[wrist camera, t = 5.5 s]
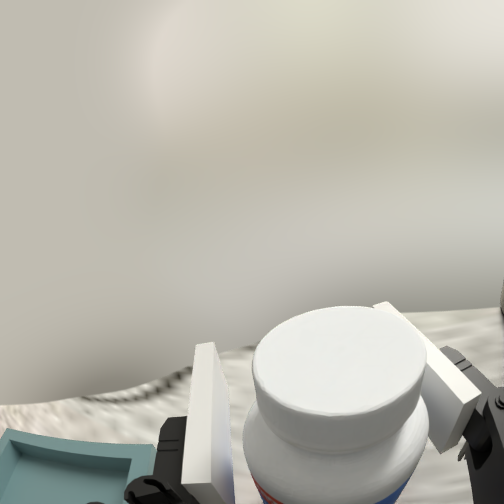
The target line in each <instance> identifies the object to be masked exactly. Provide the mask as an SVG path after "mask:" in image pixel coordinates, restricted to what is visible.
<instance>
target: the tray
mask: <svg viewBox="0 0 504 504" xmlns="http://www.w3.org/2000/svg"><path fill="white" fill-rule="evenodd" d="M156 452H157V450H156V449H155V447H154V446H153V444H111V443H96V442H85V441H76V440H68V439H60V438H54V437H47V436H42V435H36V434H31V433H26V432H22V431H17V430H13V429H9V428H7V429H6V431H5V432H4V434H3V436H2V437H1V439H0V504H87V503H89V502H96V501H97V502H101V503H104V504H129V503H127V502H126V501H125V500H124V491H125V489H126V487H127V485H128V484H129V483H130V482H131V481H132V480H134V479H136V478H138V477H140V476H145V475H153V470H154V463H155V457H156Z"/></svg>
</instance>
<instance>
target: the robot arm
mask: <svg viewBox="0 0 504 504" xmlns="http://www.w3.org/2000/svg"><path fill="white" fill-rule="evenodd" d="M500 301H501V302H500V303H501V308H502V311H503V314H504V282H503V288H502V294H501V300H500ZM372 308H375V309H379V310H383V311H387V312H390V313H392V314H394V315H397V316H399V317H400V318H402V319H404V320H405V321H407V322H408V323H410V322H409V321H408V320H407V319H406V318H405V317H404V316H403V315H402V314H401V313H400V312H398V311H397V310H396V309H395V308H394V307H393V306H392V305H391V304H390V303H388V302H383V303H379V304H376V305H373V306H372ZM410 324H411V323H410ZM411 325H412V326H413V327H414V328H415V329H416V330H417V331H418V332H419V334H420V335H421V337H422V339H423V341H424V344H425V347H426V351H427V360H426V368H425V373H424V377H423V382H422V386H421V394H420V395H421V396H422V398H423V401H424V403H425V405H426V408H427V411H428V418H429V432H428V437H429V438H430V440H431V441H432V443H433V444H434V446H435V447H436V449H437V450H438V452H439V453H440V454H442V453H443V452H445V451H447V450H449V449H450V448H452V447H454V446H456V445H457V444H458V442H459V440H460V438H461V436H462V435H463V436H464V438H465V439H466V440H467V441H466V442H465V444H464V446H463V448H462V449H461V451H460V453H459V455H458V461H461V459H462V458H463V456H464V454H465V458H464V460H465V459H466V460H467V465H468V470H469V476H470V481H471V487H472V494H473V501H474V504H504V387H498V388H497V387H495V386H494V385H493V384H492V383H491V382H490V381H489V380H488V379H487V378H486V377H485V376H484V375H483V374H482V373H481V372H480V371H479V370H478V369H477V368H475V367H474V366H472V364H471V363H470V362H469V361H468V360H466V358H465V357H464V356H463V355H462V354H461V353H459V352H458V351H457V350H455V349H453V348H450V347H448V346H445V347H443V348H441V349H438V348H437V347H436V346H435V345H434V344H433V343H432V342H431V341H429V340H428V339H427V338H426V337H425V336H424V335H423V334H422V333H421V332H420V331H419V330H418V329H417V328H416V327H415V326H414V325H413V324H411ZM124 500H125V501H126V502H127V503H129V504H235V495H234V481H233V465H232V448H231V429H230V408H229V388H228V385H227V382H226V379H225V376H224V373H223V369H222V366H221V363H220V360H219V357H218V353H217V350H216V347H215V344H214V342H209V343H203V344H197V345H196V349H195V357H194V364H193V372H192V380H191V389H190V397H189V406H188V415H187V416H183V417H170V418H168V419H167V420H166V421H165V423H164V424H163V426H162V427H161V429H160V435H159V443H158V446H157V452H156V457H155V463H154V470H153V475H145V476H140V477H138V478H136V479H134V480H132V481H131V482H130V483H129V484H128V485H127V487H126V489H125V491H124ZM87 504H104V503H101V502H97V501H96V502H89V503H87Z"/></svg>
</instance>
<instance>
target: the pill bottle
mask: <svg viewBox="0 0 504 504" xmlns="http://www.w3.org/2000/svg"><path fill="white" fill-rule="evenodd" d="M426 360H427V351H426V347H425V344H424V341H423V339H422V337H421V335H420V334H419V332H418V331H417V330H416V329H415V328H414V327H413V326H412V325H411V324H410V323H408V322H407V321H405V320H404V319H402V318H400V317H399V316H397V315H394V314H392V313H390V312H387V311H383V310H379V309H375V308H369V307H359V306H337V307H330V308H324V309H318V310H314V311H310V312H307V313H304V314H301V315H298V316H296V317H293V318H291V319H289V320H287V321H285V322H283V323H281V324H280V325H278V326H277V327H275V328H274V329H272V330H271V331H270V332H269V333H268V334H267V335H266V336H265V337H264V338H263V339H262V340H261V342H260V343H259V345H258V346H257V348H256V350H255V352H254V356H253V360H252V374H253V379H254V385H255V390H256V398H257V400H256V401H255V402H254V404H253V406H252V407H251V409H250V411H249V413H248V416H247V418H246V421H245V425H244V430H243V449H244V454H245V458H246V461H247V464H248V467H249V470H250V472H251V475H252V478H253V480H254V482H255V485H256V487H257V489H258V491H259V493H260V496H261V498H262V500H263V503H264V504H394V503H395V502H396V500H397V499H398V497H399V496H400V494H401V492H402V491H403V489H404V487H405V486H406V484H407V482H408V481H409V479H410V477H411V475H412V474H413V472H414V470H415V468H416V466H417V464H418V462H419V460H420V458H421V456H422V454H423V451H424V449H425V445H426V442H427V438H428V432H429V418H428V411H427V408H426V405H425V403H424V401H423V398H422V396H421V395H420V394H421V386H422V382H423V377H424V373H425V368H426Z"/></svg>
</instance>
